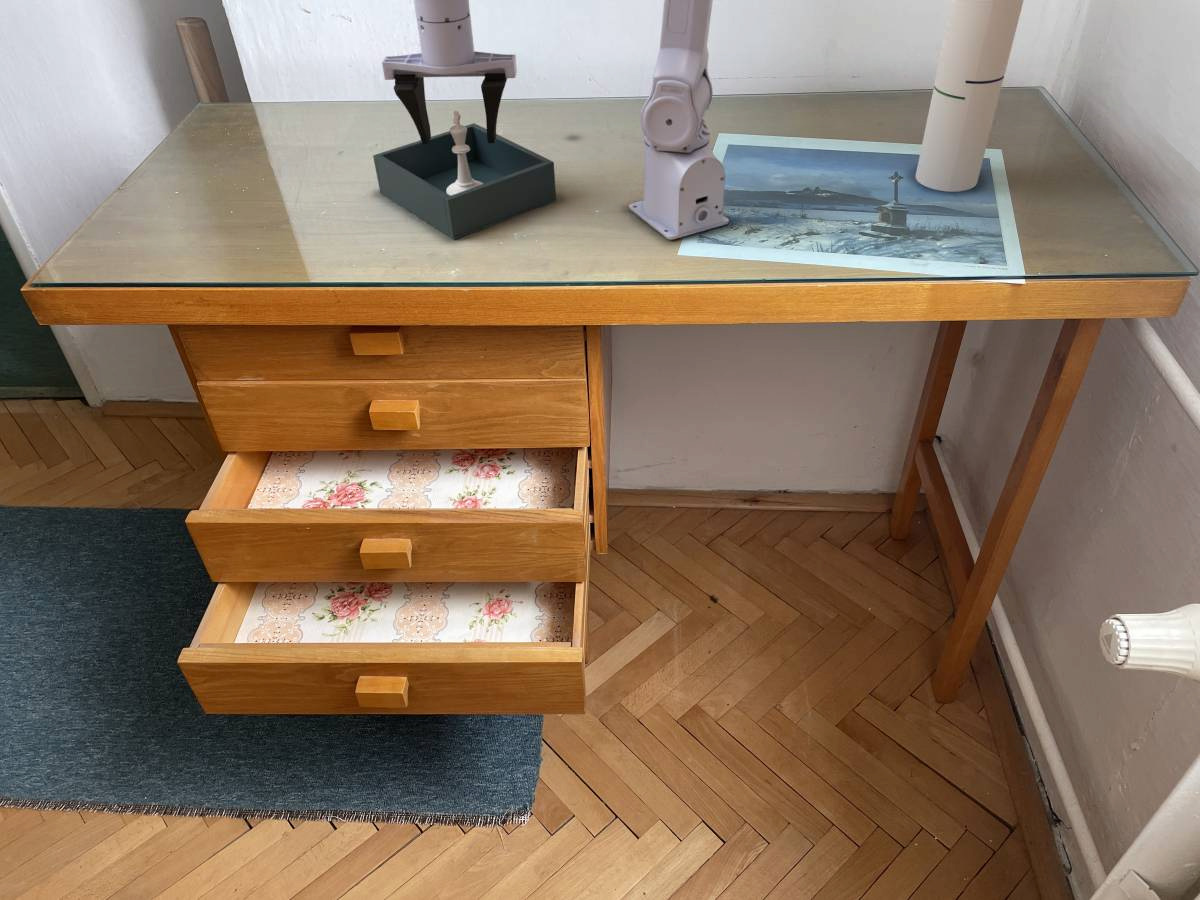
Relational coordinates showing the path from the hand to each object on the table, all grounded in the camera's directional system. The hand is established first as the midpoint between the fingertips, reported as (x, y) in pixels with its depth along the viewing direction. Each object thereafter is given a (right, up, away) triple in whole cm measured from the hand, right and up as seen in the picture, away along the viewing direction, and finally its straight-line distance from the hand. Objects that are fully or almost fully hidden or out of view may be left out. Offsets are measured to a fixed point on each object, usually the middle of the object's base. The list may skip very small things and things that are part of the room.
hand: (459, 140), depth 106 cm
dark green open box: (0, -5, +5) cm, 7 cm away
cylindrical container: (+58, -3, +5) cm, 59 cm away
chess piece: (0, -5, +4) cm, 7 cm away
